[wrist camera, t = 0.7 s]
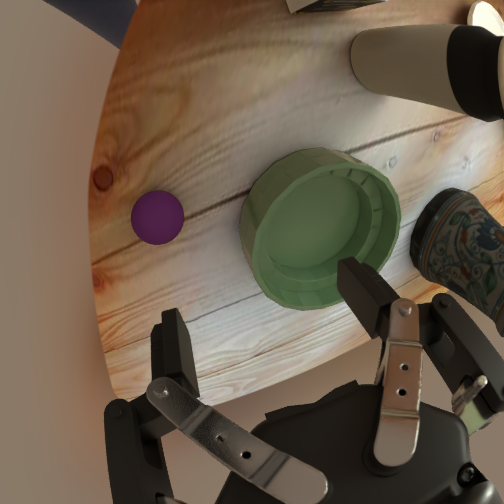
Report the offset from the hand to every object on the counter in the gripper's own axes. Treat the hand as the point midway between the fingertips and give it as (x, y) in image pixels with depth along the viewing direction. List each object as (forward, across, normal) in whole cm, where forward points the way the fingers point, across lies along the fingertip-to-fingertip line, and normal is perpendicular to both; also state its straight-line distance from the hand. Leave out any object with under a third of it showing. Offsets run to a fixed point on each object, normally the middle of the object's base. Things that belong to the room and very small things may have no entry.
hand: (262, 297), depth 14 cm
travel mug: (+17, -20, -11) cm, 29 cm away
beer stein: (+17, -36, +15) cm, 43 cm away
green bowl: (+17, -10, +7) cm, 21 cm away
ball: (+15, +6, +1) cm, 16 cm away
